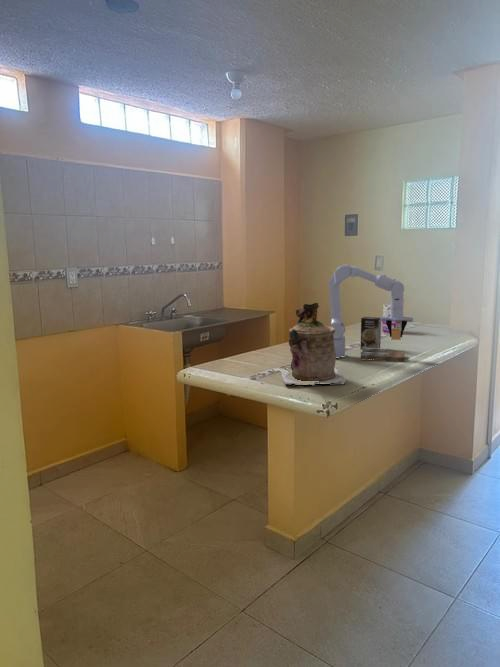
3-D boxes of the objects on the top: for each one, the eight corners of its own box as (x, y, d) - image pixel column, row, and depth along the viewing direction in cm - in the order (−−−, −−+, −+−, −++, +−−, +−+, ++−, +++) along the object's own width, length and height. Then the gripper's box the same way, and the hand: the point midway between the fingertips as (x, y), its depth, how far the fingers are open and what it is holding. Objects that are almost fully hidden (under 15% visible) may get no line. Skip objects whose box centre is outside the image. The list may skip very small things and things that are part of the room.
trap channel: (360, 359, 230) (360, 352, 229) (362, 354, 240) (362, 347, 240) (404, 361, 224) (404, 354, 224) (404, 356, 235) (404, 349, 234)
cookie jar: (335, 369, 215) (335, 296, 209) (348, 385, 191) (348, 304, 185) (279, 371, 215) (277, 298, 209) (284, 388, 191) (283, 306, 185)
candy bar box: (401, 333, 288) (402, 305, 285) (394, 334, 286) (395, 306, 283) (388, 330, 298) (389, 303, 295) (382, 331, 296) (382, 304, 293)
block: (391, 339, 228) (391, 330, 227) (391, 337, 231) (391, 328, 230) (400, 339, 226) (400, 330, 226) (400, 338, 230) (400, 328, 229)
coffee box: (360, 349, 252) (360, 318, 249) (363, 346, 257) (363, 316, 254) (378, 350, 247) (378, 319, 244) (381, 348, 253) (381, 317, 250)
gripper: (380, 309, 224) (379, 338, 227) (413, 309, 220) (412, 339, 223) (380, 306, 231) (380, 335, 234) (413, 307, 227) (412, 336, 229)
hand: (396, 336), depth 229 cm, fingers closed on block, 4 cm apart
